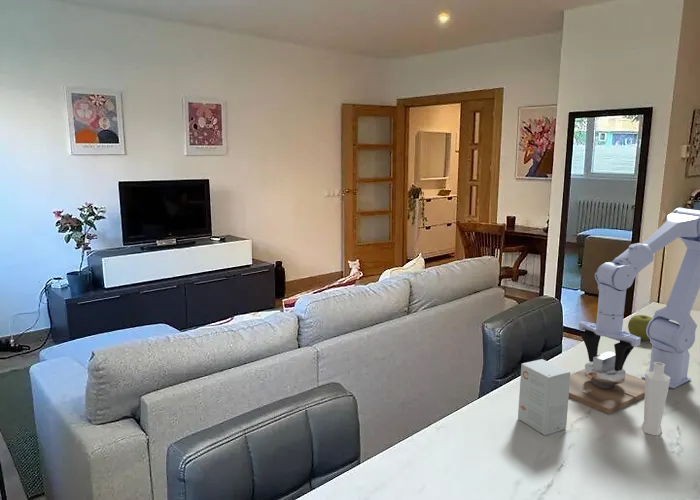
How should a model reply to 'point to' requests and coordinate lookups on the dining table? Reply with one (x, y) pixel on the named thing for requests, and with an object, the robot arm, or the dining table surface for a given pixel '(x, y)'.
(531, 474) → the dining table surface
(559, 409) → the small box
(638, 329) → the apple
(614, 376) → the cap
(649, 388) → the perfume bottle
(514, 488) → the dining table surface
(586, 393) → the post board
